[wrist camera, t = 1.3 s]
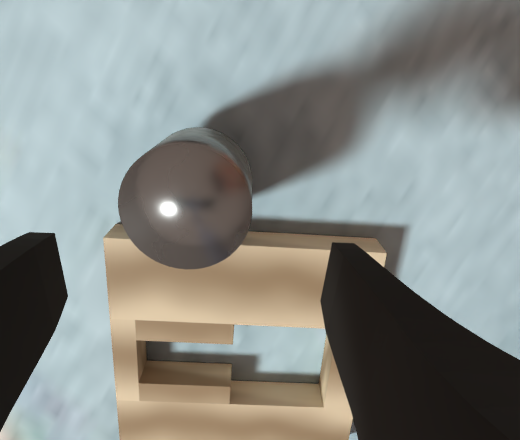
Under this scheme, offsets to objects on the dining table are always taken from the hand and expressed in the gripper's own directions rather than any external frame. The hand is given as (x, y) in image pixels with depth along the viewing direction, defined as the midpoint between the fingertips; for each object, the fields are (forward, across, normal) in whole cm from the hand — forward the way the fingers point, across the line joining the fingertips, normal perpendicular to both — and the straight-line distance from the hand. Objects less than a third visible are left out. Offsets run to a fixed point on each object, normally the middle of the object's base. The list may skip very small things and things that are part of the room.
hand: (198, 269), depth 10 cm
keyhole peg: (+11, 0, +2) cm, 11 cm away
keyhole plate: (+9, -2, +13) cm, 16 cm away
